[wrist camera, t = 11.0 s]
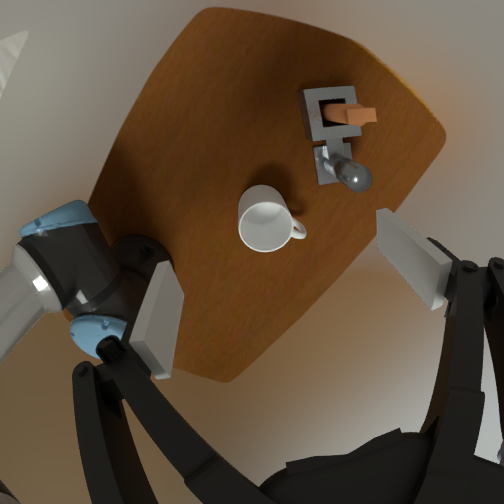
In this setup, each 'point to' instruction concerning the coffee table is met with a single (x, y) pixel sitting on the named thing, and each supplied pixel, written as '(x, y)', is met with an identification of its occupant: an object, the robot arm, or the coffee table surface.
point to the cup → (266, 219)
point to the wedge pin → (347, 113)
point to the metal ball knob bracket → (333, 139)
